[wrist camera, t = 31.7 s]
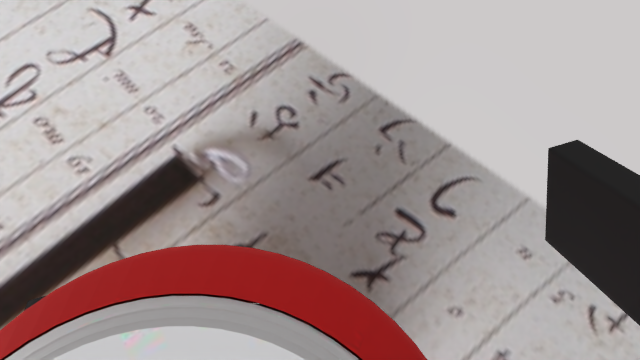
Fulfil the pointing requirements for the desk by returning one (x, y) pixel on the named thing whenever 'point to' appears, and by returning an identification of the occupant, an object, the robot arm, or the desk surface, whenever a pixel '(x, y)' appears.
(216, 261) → the beverage can
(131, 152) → the desk surface
